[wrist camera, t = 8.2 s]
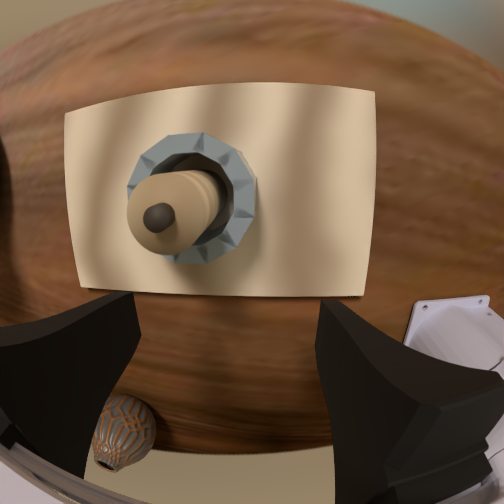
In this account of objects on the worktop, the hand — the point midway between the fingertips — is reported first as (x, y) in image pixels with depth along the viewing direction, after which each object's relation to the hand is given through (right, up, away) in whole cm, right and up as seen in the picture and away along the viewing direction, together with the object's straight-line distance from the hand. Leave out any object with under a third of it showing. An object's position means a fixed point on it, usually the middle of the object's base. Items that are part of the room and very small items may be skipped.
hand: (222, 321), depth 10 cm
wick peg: (-2, +6, +7) cm, 10 cm away
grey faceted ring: (-2, +6, +7) cm, 10 cm away
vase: (-12, -14, +15) cm, 24 cm away
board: (-2, +7, +8) cm, 10 cm away
